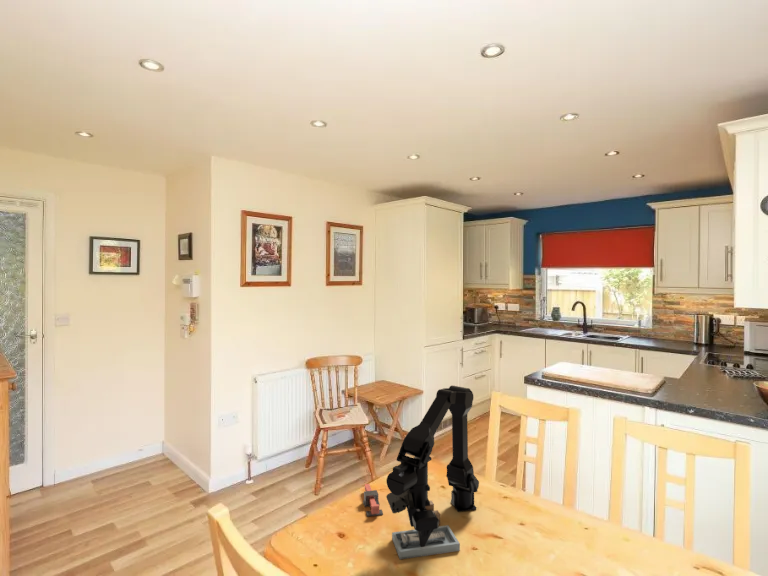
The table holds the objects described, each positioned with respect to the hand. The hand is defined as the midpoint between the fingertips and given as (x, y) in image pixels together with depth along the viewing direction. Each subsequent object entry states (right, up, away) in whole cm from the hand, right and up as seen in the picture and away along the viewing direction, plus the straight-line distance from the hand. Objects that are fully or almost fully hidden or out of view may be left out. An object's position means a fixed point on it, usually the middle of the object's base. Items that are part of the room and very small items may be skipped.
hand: (417, 536), depth 112 cm
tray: (+2, -3, 0) cm, 4 cm away
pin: (+2, -3, 0) cm, 3 cm away
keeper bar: (-14, -3, +22) cm, 26 cm away
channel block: (+4, -3, +14) cm, 15 cm away
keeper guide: (-13, -3, +19) cm, 23 cm away
